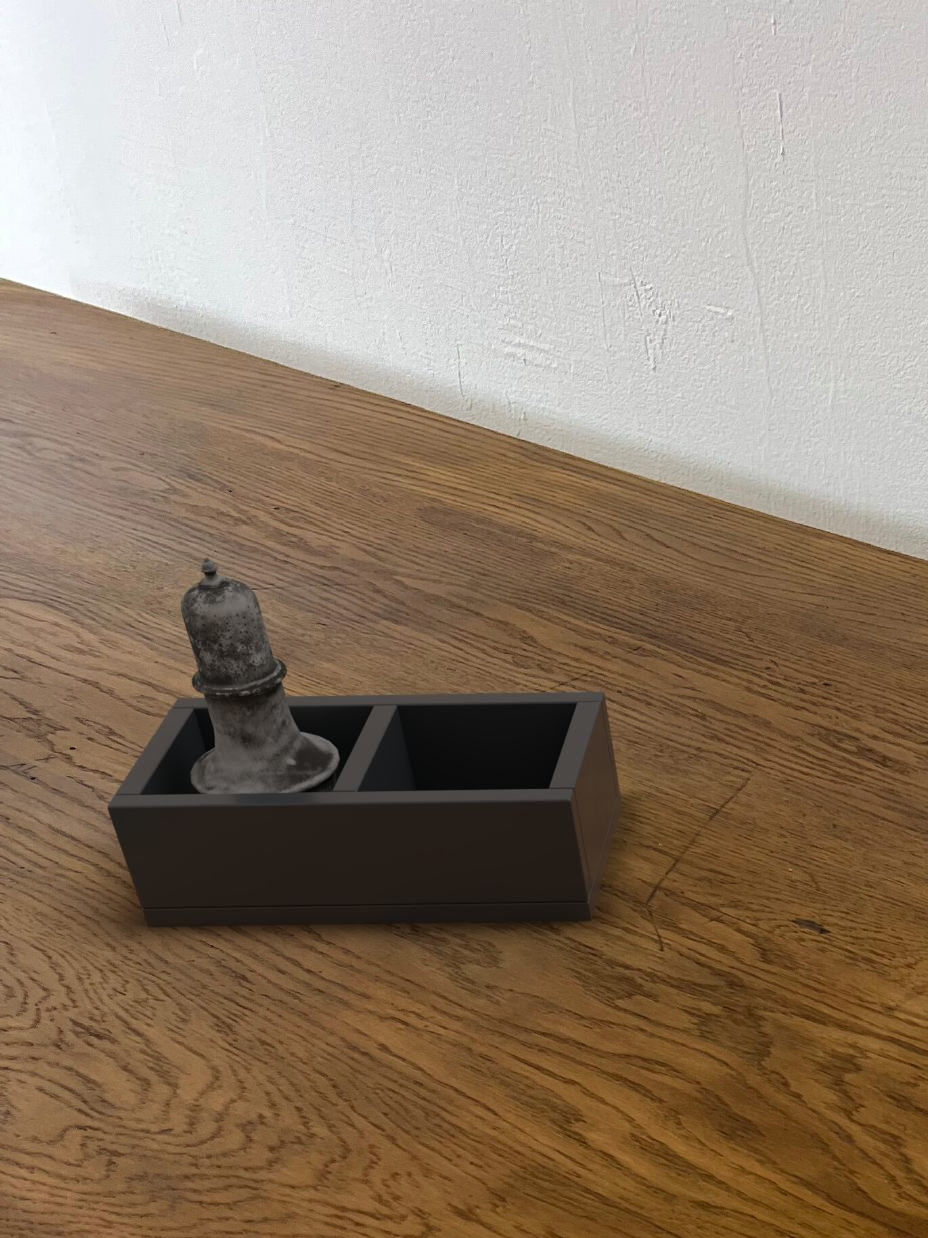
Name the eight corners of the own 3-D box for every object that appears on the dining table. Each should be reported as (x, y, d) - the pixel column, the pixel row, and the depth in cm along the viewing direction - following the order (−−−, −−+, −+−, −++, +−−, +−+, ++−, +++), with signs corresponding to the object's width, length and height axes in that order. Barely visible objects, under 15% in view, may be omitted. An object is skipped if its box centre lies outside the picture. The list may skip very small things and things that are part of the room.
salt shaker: (202, 830, 87) (112, 545, 79) (340, 797, 89) (267, 517, 81) (230, 893, 83) (140, 601, 75) (375, 858, 85) (301, 569, 77)
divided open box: (592, 924, 84) (570, 799, 80) (148, 930, 84) (105, 806, 80) (623, 810, 91) (604, 690, 87) (213, 816, 91) (177, 697, 87)
